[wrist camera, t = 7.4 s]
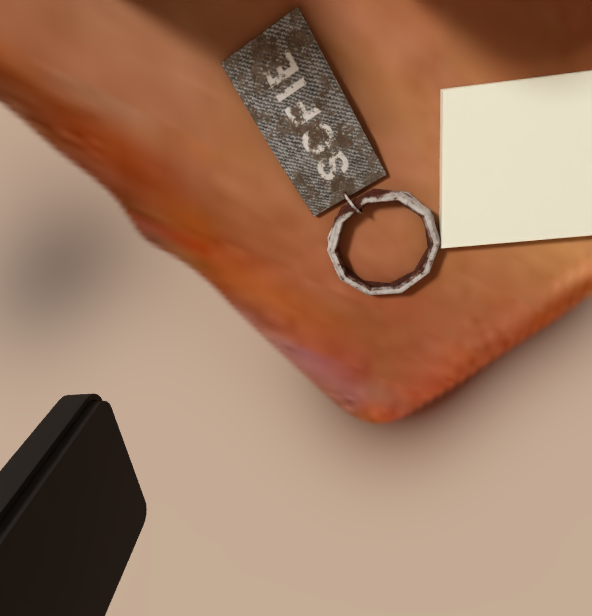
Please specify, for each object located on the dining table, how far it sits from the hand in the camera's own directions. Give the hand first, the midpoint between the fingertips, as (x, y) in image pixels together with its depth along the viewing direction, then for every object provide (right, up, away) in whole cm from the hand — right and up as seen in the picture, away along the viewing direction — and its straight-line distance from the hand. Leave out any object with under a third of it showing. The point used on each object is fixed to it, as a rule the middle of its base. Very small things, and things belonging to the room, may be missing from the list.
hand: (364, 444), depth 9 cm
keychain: (+2, +12, +24) cm, 27 cm away
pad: (+13, +12, +22) cm, 29 cm away
